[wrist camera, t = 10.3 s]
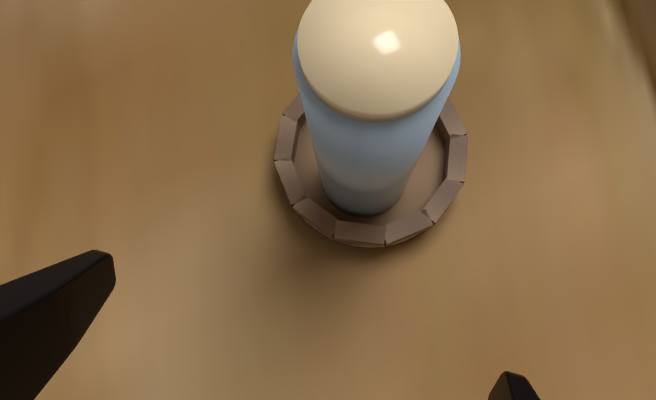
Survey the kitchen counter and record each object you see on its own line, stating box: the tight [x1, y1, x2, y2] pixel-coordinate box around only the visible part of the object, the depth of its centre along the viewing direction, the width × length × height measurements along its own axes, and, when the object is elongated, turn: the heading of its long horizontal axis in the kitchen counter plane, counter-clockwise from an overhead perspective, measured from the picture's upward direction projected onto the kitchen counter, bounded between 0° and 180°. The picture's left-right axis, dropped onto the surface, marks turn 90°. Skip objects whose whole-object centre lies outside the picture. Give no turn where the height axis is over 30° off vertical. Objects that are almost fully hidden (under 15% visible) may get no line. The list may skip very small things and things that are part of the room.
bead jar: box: [293, 0, 461, 218], centre depth 18 cm, size 5×5×13 cm
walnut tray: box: [274, 93, 468, 248], centre depth 24 cm, size 10×10×2 cm
